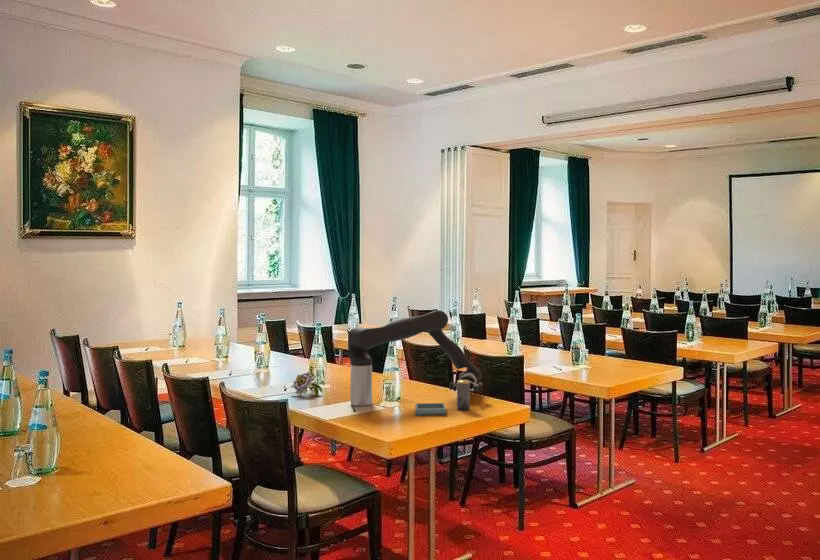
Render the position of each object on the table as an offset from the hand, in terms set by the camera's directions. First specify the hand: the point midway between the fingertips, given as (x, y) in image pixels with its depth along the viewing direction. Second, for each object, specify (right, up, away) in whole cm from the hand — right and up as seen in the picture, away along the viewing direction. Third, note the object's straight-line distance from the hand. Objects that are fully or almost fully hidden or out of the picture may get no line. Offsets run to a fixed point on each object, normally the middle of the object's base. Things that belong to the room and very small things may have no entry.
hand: (464, 389), depth 309 cm
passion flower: (-71, -7, +26) cm, 76 cm away
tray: (-15, -8, -13) cm, 21 cm away
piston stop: (-1, -7, -8) cm, 11 cm away
